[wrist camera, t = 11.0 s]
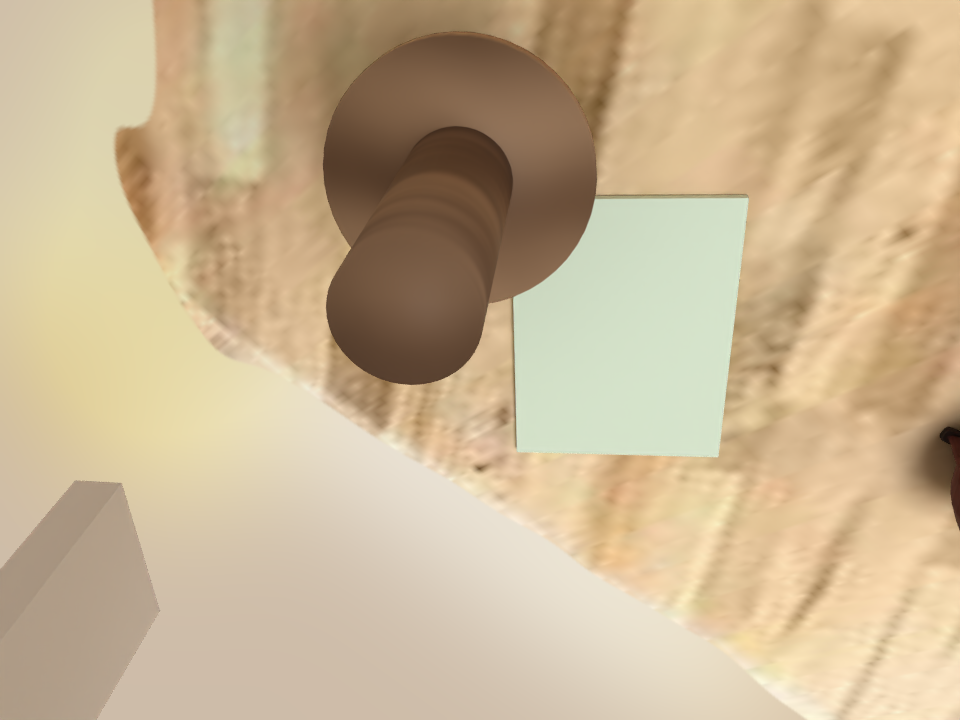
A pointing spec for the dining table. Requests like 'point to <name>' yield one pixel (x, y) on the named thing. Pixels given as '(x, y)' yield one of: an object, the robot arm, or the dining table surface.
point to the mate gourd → (956, 440)
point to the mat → (633, 331)
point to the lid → (449, 197)
